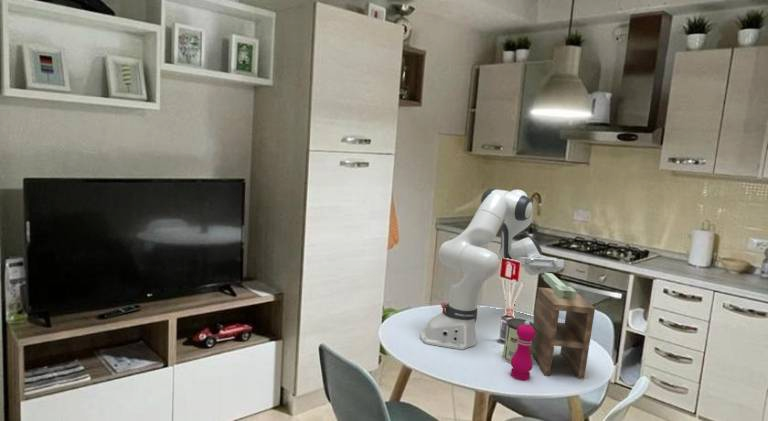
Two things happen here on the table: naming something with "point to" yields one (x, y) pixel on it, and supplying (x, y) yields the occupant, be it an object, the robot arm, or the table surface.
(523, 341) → the pepper mill
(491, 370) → the table surface
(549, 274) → the green bar
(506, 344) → the coffee can
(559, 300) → the walnut shelf
